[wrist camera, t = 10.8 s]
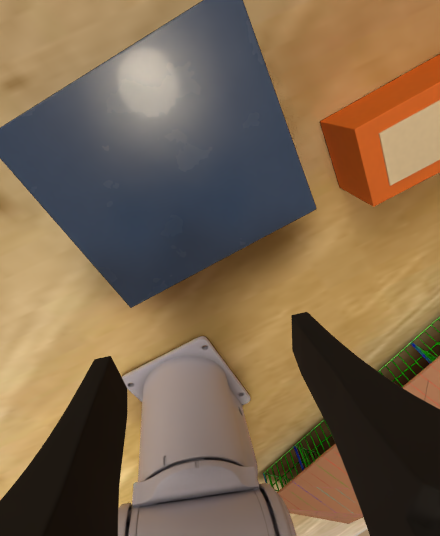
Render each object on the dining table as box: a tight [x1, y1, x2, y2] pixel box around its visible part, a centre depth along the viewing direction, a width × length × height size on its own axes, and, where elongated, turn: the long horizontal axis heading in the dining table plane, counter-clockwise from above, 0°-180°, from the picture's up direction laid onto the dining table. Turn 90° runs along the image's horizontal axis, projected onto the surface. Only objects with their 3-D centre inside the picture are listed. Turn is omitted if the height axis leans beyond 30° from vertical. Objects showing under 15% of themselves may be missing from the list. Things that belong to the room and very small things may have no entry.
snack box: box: [320, 54, 440, 206], centre depth 18 cm, size 9×5×4 cm, turn 117°
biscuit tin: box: [0, 0, 316, 308], centre depth 17 cm, size 11×12×4 cm
